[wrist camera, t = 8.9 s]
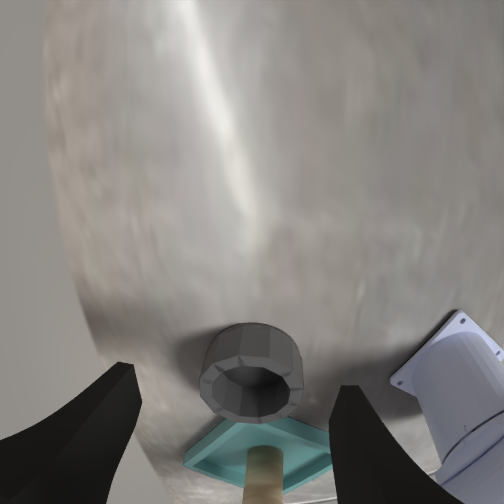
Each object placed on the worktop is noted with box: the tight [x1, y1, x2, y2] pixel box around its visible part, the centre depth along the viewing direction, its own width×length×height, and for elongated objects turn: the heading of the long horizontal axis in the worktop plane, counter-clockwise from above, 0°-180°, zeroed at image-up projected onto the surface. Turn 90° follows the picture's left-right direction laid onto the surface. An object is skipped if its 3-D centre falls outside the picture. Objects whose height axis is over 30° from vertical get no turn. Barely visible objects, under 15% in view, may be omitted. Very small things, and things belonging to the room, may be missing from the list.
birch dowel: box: [242, 445, 284, 504], centre depth 23 cm, size 4×4×8 cm
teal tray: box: [182, 416, 333, 495], centre depth 27 cm, size 12×12×2 cm
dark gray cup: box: [199, 323, 304, 424], centre depth 21 cm, size 7×7×4 cm
